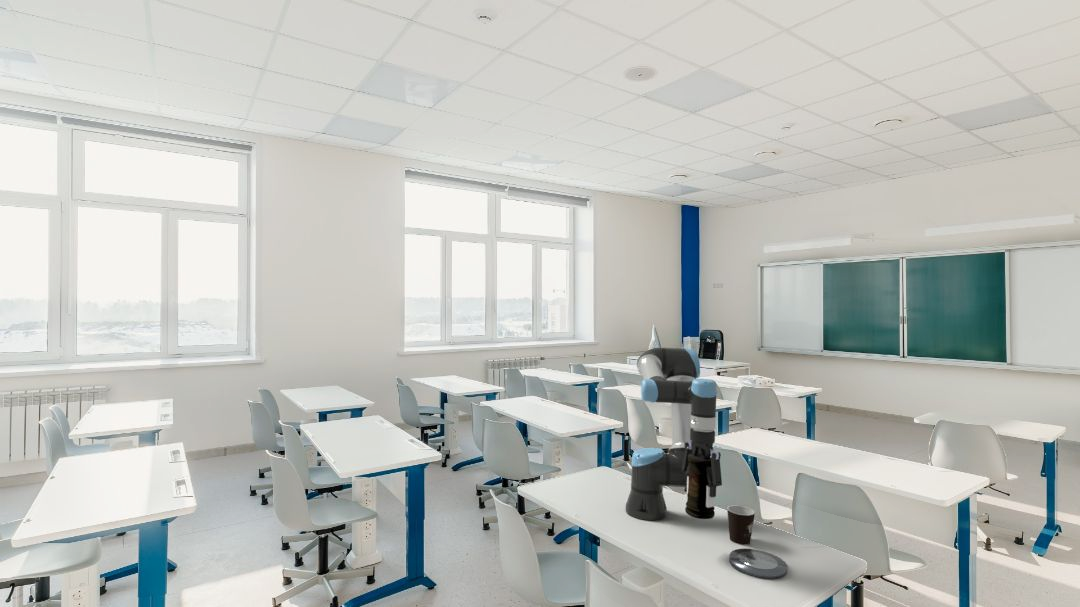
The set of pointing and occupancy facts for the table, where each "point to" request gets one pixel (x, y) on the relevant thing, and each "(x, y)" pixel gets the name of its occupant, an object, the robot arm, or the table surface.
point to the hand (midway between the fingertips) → (700, 501)
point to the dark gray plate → (758, 563)
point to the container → (698, 488)
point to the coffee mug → (740, 524)
